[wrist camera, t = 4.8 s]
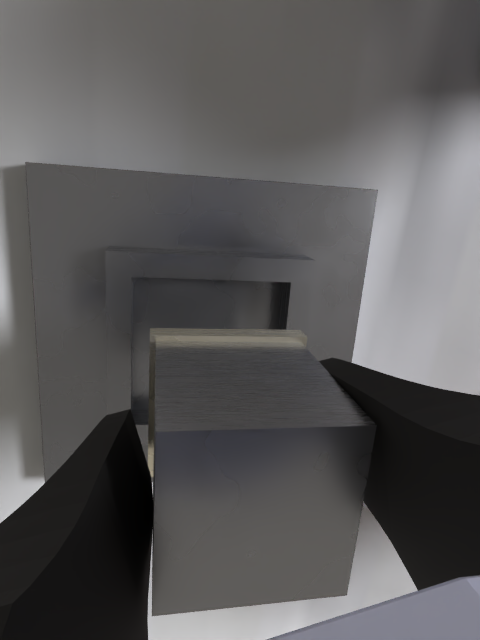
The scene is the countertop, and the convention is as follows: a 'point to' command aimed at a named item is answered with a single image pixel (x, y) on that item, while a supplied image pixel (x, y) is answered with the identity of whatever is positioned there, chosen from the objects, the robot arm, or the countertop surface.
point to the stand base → (177, 278)
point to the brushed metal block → (250, 470)
